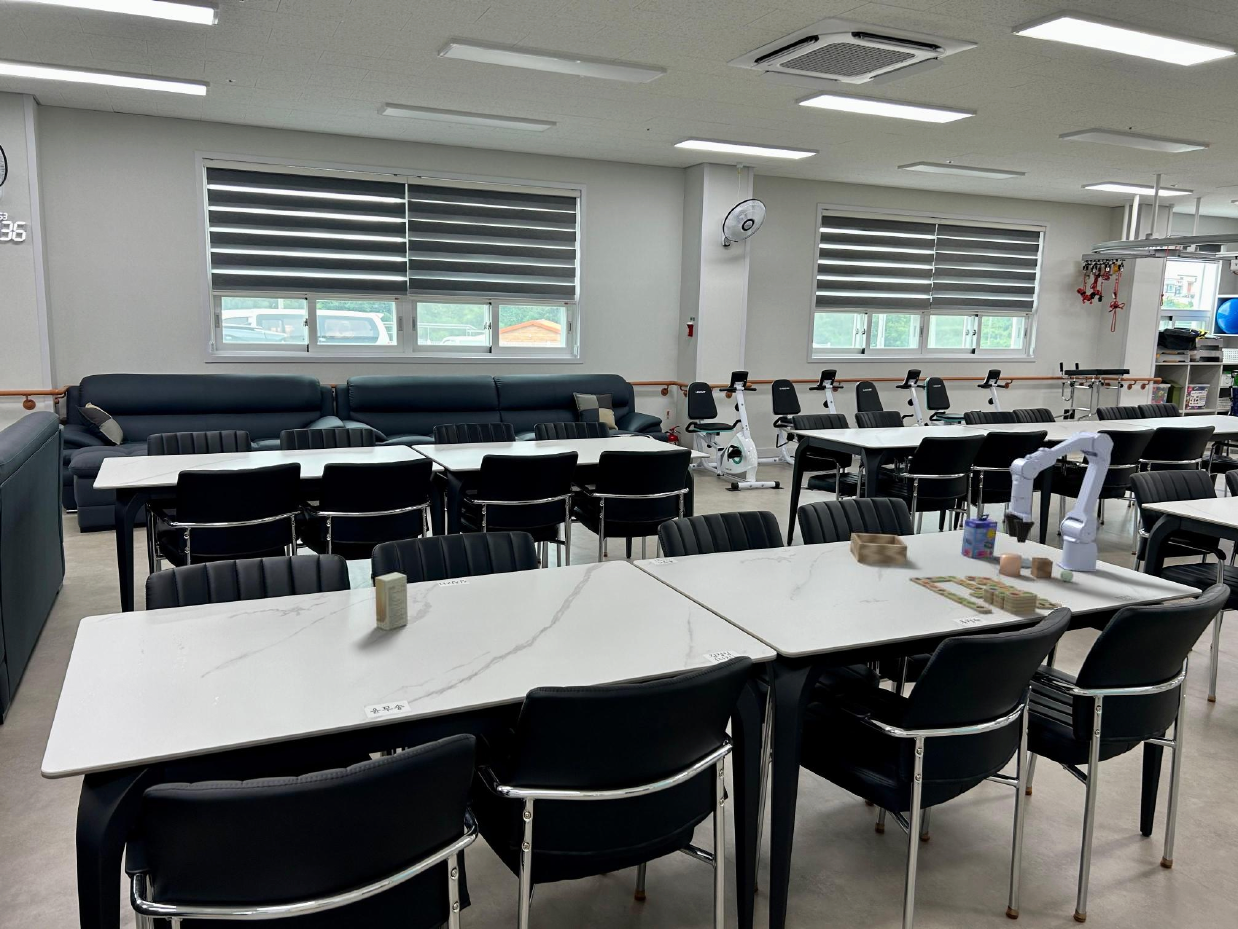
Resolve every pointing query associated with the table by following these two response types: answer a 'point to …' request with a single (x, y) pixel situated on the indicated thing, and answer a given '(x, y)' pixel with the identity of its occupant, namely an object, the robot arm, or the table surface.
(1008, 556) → the peach domed cylinder
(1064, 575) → the sage ball
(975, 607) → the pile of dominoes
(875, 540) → the holder corral
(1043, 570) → the walnut block
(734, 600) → the table surface
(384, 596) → the skincare box
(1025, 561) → the slate pad
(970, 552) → the blue box with handle
